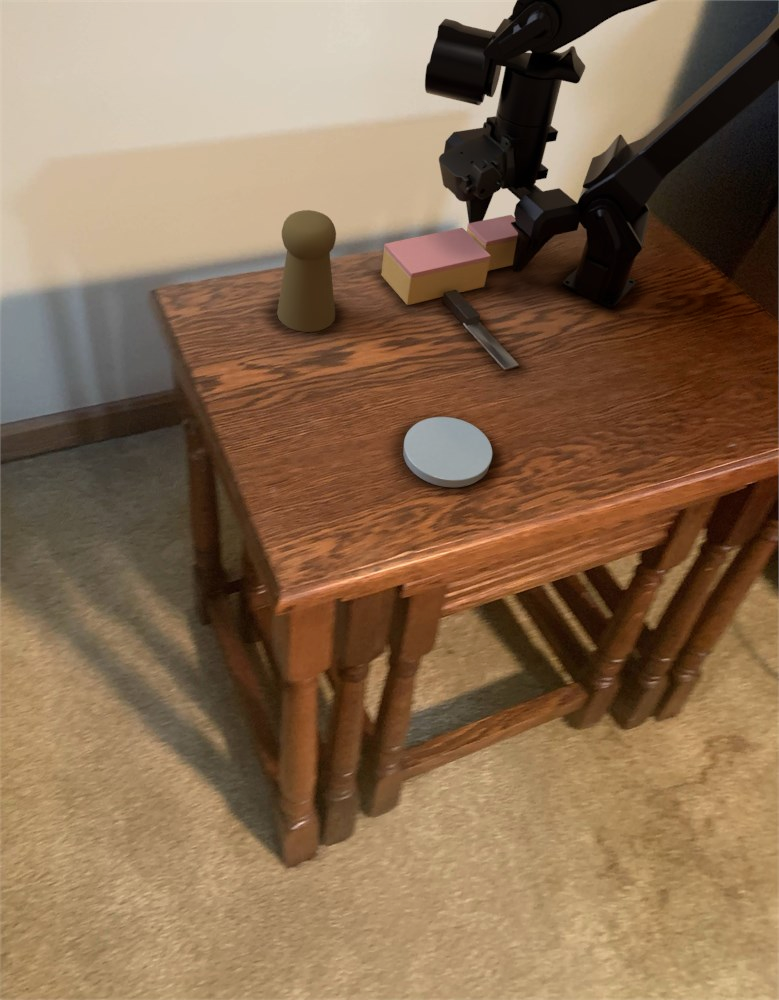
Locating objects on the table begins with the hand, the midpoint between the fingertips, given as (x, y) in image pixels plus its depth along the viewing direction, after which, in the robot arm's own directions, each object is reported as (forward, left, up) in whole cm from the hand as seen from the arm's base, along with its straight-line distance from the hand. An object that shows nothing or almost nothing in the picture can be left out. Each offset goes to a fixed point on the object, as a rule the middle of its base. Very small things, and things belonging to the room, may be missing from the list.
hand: (494, 249), depth 97 cm
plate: (+31, +13, -1) cm, 34 cm away
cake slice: (0, 0, -1) cm, 1 cm away
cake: (+9, -3, -1) cm, 9 cm away
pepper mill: (+23, -9, -1) cm, 25 cm away
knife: (+13, +6, -1) cm, 15 cm away
